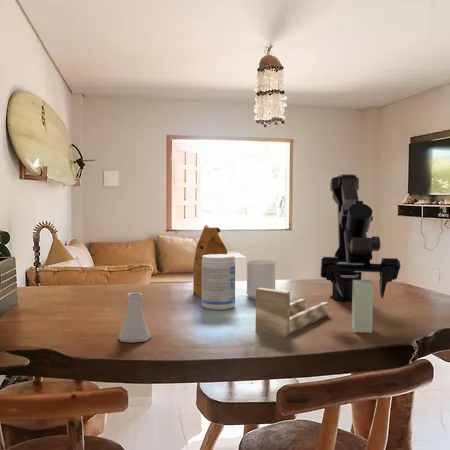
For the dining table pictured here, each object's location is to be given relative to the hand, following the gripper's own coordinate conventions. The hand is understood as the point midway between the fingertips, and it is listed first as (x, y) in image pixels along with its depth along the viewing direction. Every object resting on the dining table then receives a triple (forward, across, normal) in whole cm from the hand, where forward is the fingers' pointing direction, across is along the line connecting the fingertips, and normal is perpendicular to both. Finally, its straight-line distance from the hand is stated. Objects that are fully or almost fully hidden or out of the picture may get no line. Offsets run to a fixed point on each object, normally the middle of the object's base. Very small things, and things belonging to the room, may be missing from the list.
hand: (362, 296), depth 112 cm
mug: (-18, -26, +29) cm, 43 cm away
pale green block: (+6, 0, +6) cm, 8 cm away
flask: (+16, -51, -5) cm, 54 cm away
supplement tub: (-7, -37, +18) cm, 42 cm away
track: (+2, -16, +9) cm, 18 cm away
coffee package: (-18, -42, +29) cm, 54 cm away
